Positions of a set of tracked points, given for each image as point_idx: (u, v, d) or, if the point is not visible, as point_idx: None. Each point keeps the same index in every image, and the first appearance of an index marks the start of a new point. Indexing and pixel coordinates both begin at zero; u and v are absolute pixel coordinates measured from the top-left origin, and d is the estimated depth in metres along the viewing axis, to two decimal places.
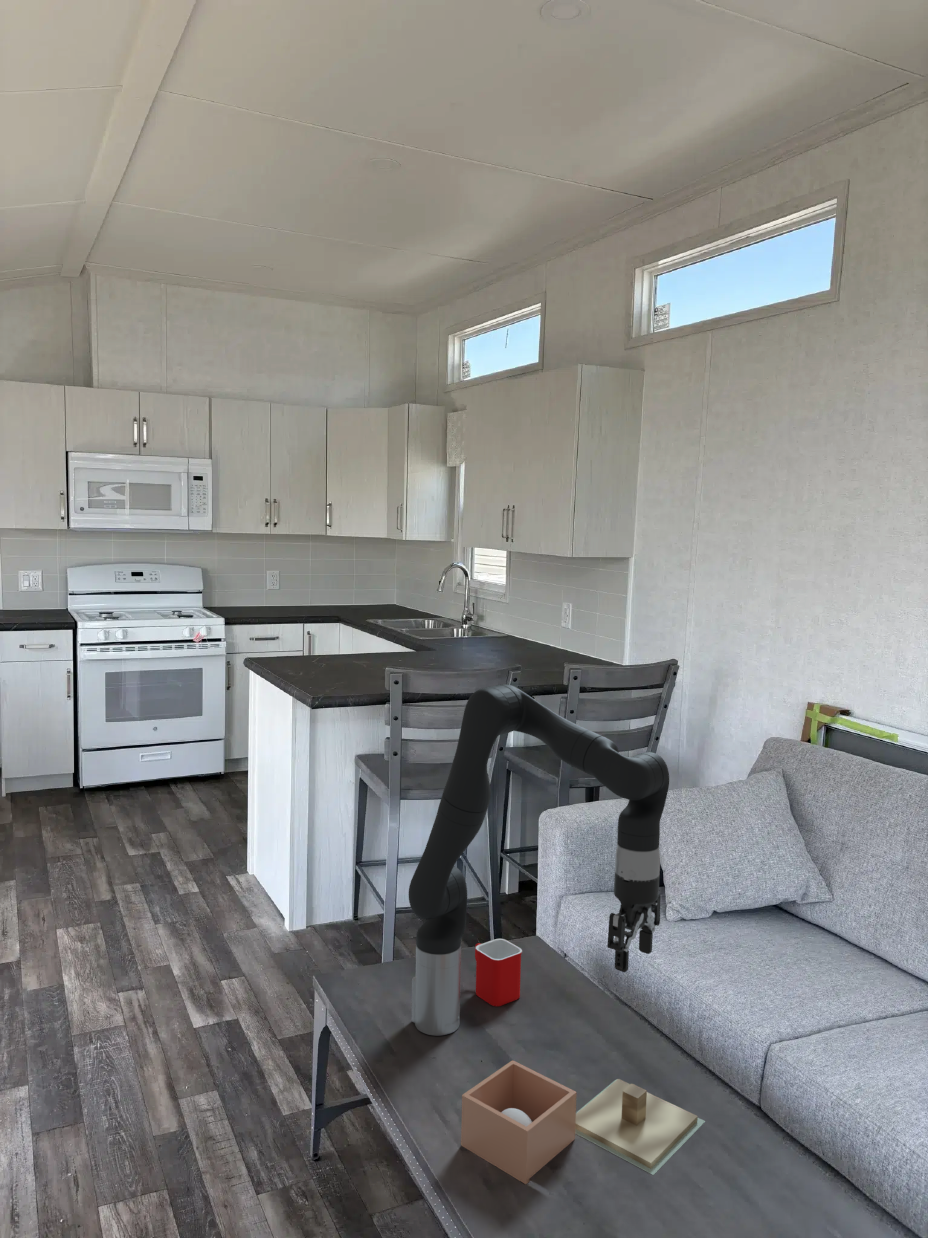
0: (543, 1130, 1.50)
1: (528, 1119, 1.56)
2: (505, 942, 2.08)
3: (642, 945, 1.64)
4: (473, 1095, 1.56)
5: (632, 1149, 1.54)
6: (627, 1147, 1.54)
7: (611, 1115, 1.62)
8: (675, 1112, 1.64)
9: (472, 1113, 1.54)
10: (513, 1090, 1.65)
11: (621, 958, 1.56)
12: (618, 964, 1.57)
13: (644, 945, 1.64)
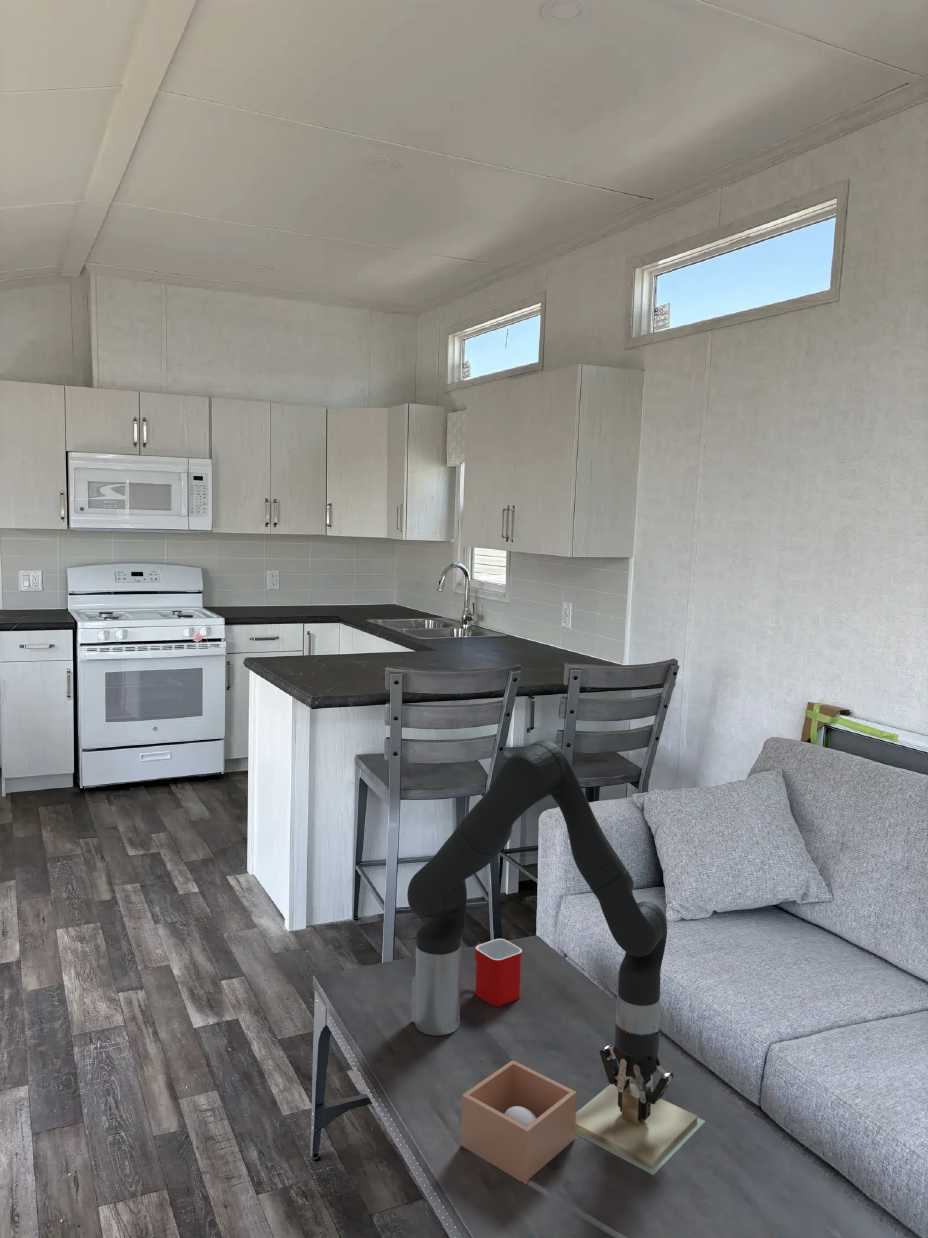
0: (543, 1130, 1.50)
1: (533, 1117, 1.56)
2: (505, 942, 2.08)
3: None
4: (473, 1095, 1.56)
5: (632, 1149, 1.54)
6: (627, 1147, 1.54)
7: (611, 1115, 1.62)
8: (675, 1112, 1.64)
9: (472, 1113, 1.54)
10: (513, 1090, 1.65)
11: (650, 1106, 1.60)
12: None
13: None
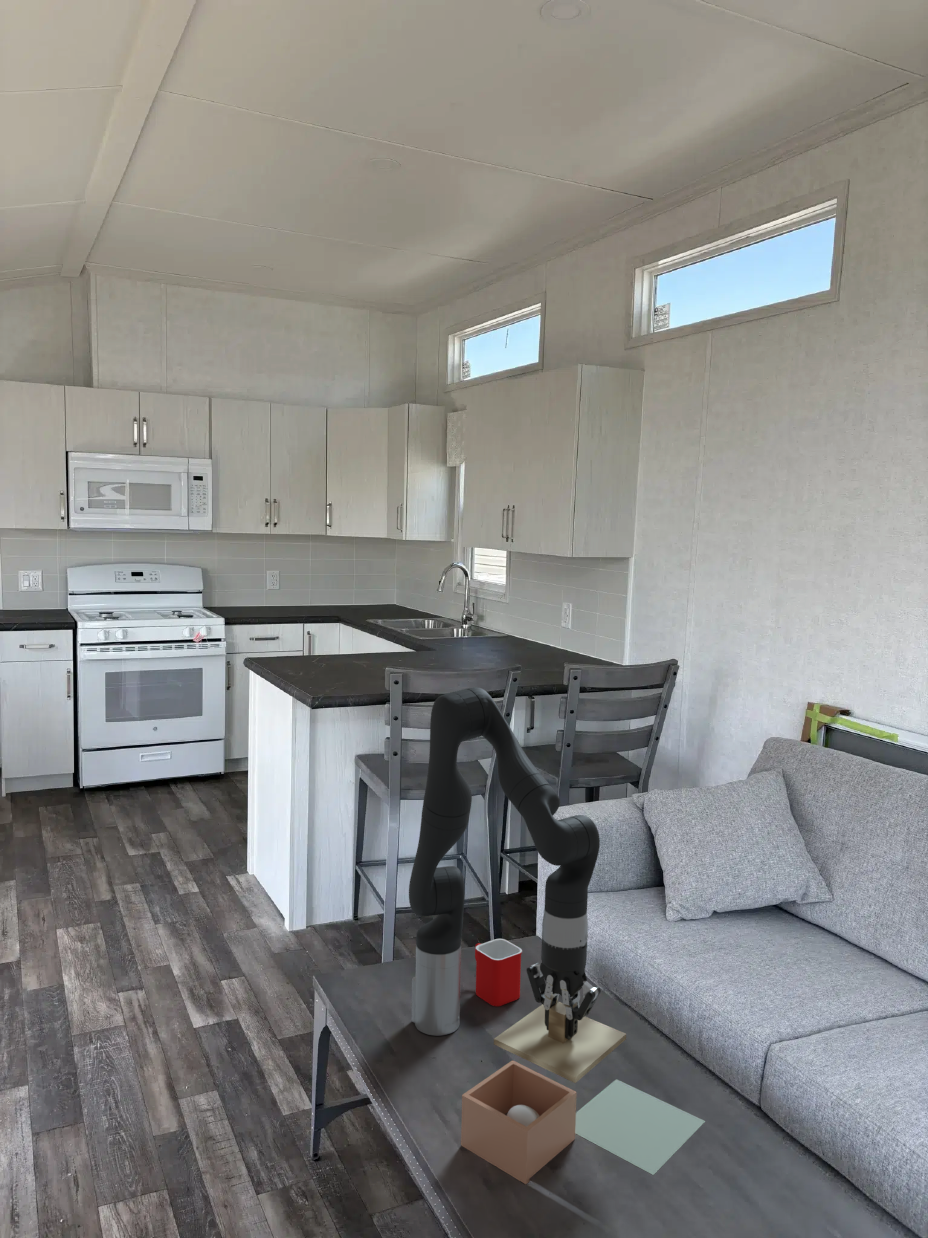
0: (543, 1130, 1.50)
1: (537, 1115, 1.57)
2: (505, 942, 2.08)
3: None
4: (473, 1095, 1.56)
5: (557, 1065, 1.49)
6: (552, 1063, 1.50)
7: (538, 1034, 1.58)
8: (604, 1030, 1.59)
9: (472, 1113, 1.54)
10: (513, 1090, 1.65)
11: (577, 1023, 1.55)
12: (573, 1032, 1.55)
13: None
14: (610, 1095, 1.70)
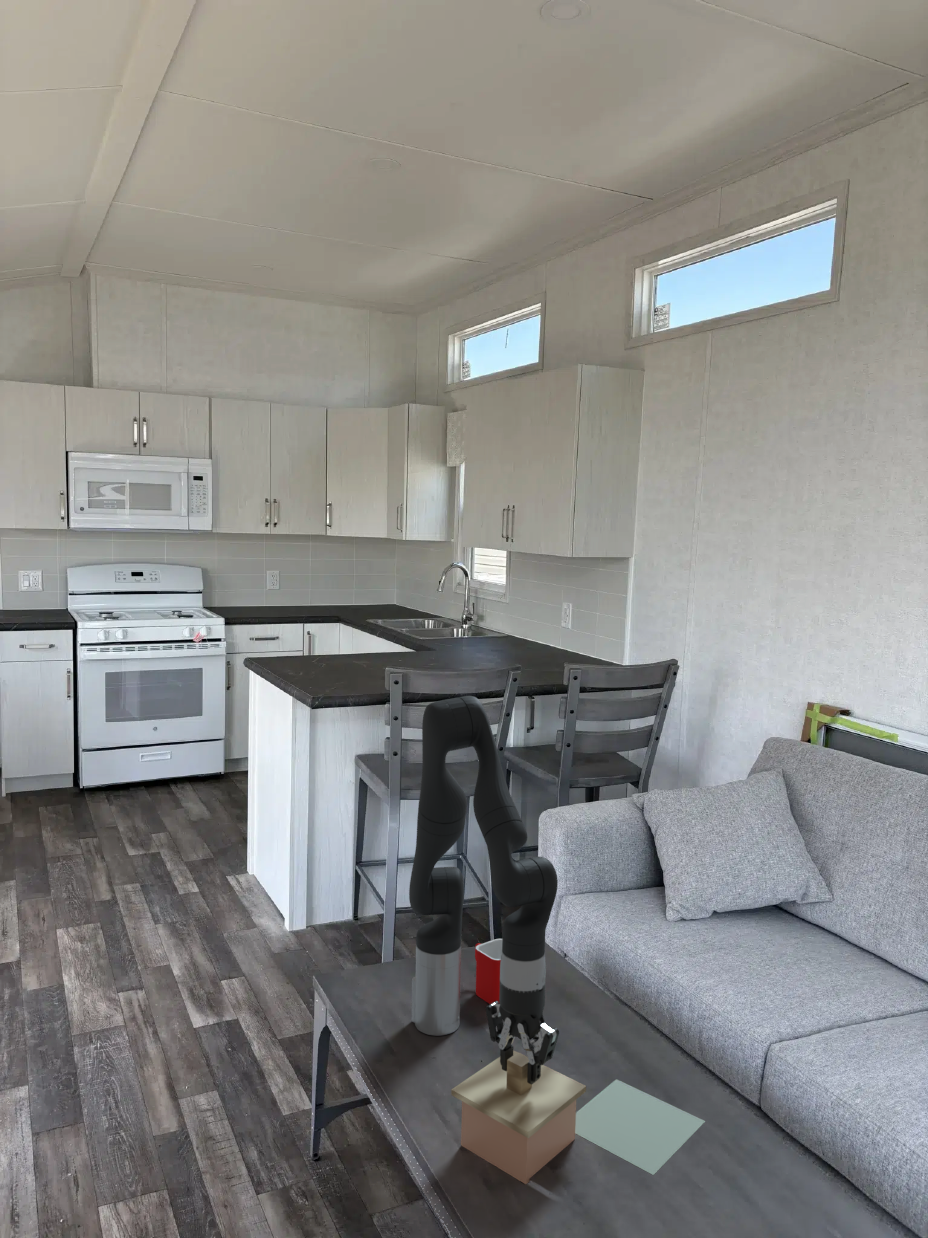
0: (543, 1130, 1.50)
1: None
2: None
3: None
4: None
5: (511, 1118, 1.48)
6: (506, 1116, 1.48)
7: (496, 1085, 1.56)
8: (564, 1082, 1.58)
9: (472, 1113, 1.54)
10: None
11: (540, 1067, 1.53)
12: None
13: None
14: (610, 1095, 1.70)
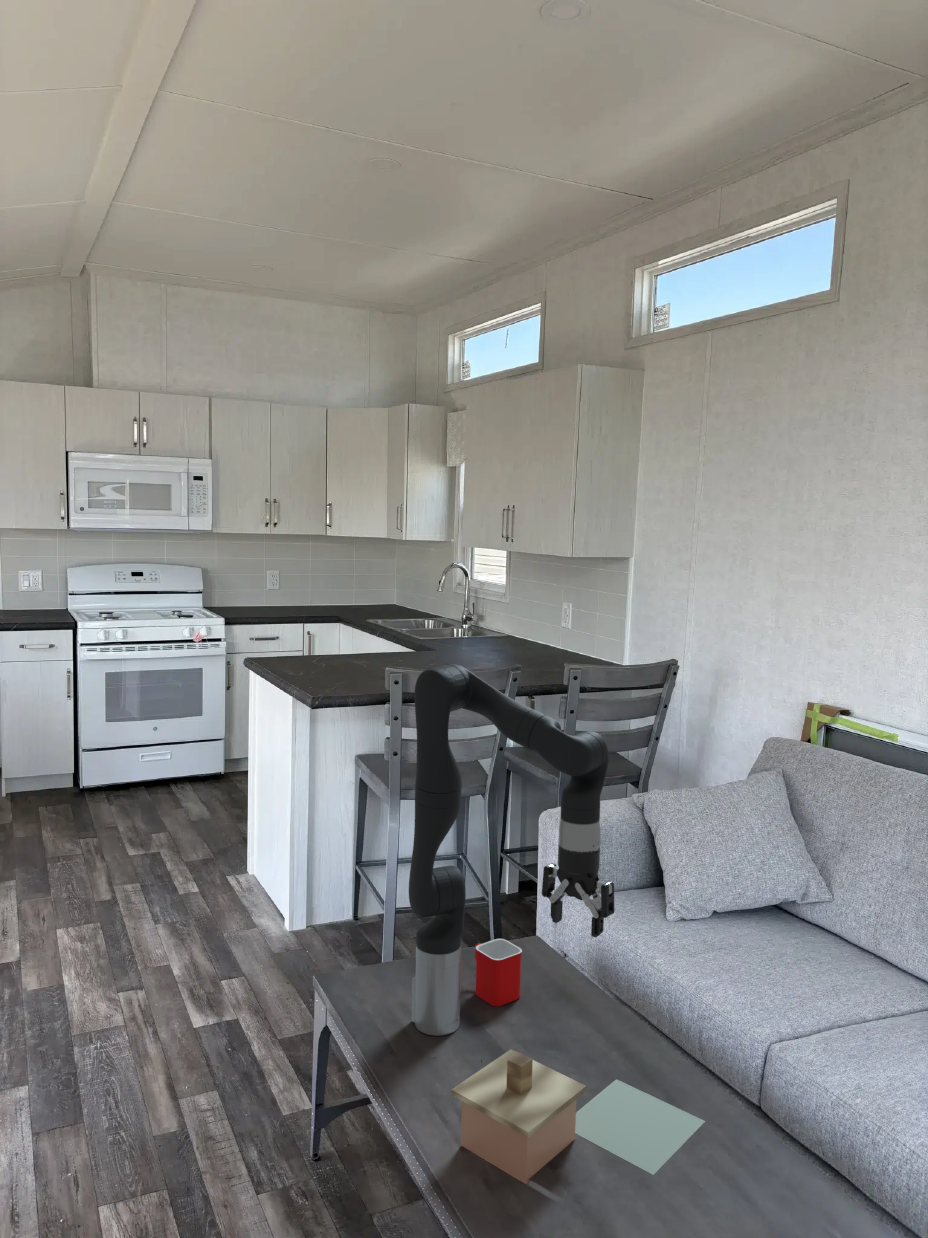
0: (543, 1130, 1.50)
1: None
2: (505, 942, 2.08)
3: (557, 916, 1.73)
4: None
5: (511, 1118, 1.48)
6: (506, 1116, 1.48)
7: (496, 1085, 1.56)
8: (564, 1082, 1.58)
9: (472, 1113, 1.54)
10: None
11: (603, 922, 1.67)
12: (599, 930, 1.67)
13: (558, 915, 1.73)
14: (610, 1095, 1.70)
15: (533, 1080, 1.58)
